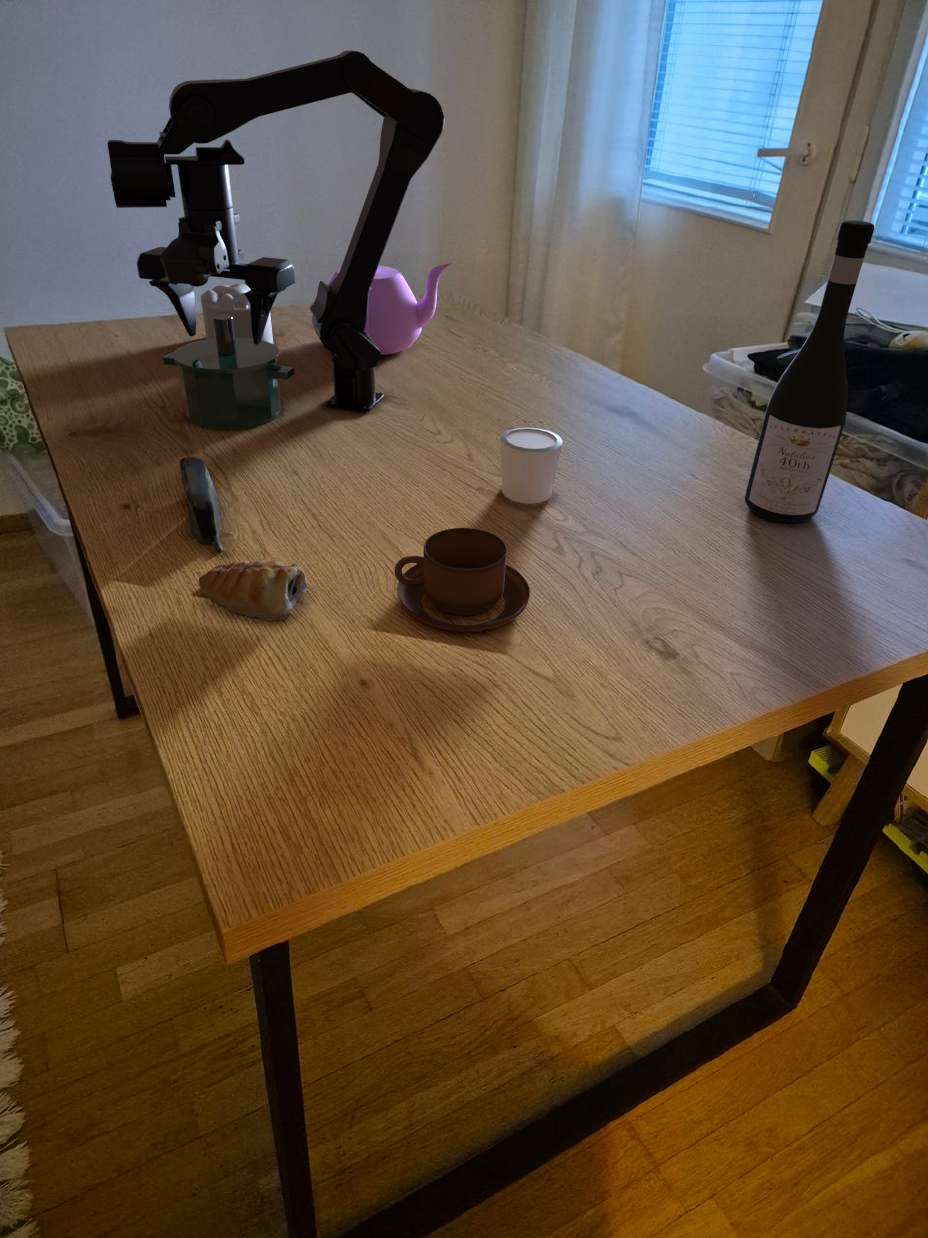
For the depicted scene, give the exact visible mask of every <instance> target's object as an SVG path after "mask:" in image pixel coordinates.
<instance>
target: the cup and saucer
mask: <svg viewBox="0 0 928 1238" xmlns="http://www.w3.org/2000/svg"><path fill="white" fill-rule="evenodd" d="M507 557H508V547H507V545H506V543H505V541H504V540H503V539H501V537H499V536H497V535H496V534H495V533H492V532H489V531H487V530H483V529H478V528H472V527H454V528H448V529H443V530H440V531H437V532H435V533H433V534H431V535H430V536H429V537H428V538H427V539H426V540H425V542H424V543H423V556H420V555H408V556H404V557H402V558H400V560H398V561H397V562H396V564H395V566H394V576H395V578H396V580H397V581H398V583H397V587H396V588H397V589H396V590H397V591H396V592H397V597H398V599H399V602H400V604H401V606H402V607H403V608H404V610H405V611H406V612H407V613H408V614H409V615H410V616H412V617H413V618H415V619H417V620H418V621H420V622H421V623H423V624H425V625H427V626H429V627H432V628H435V629H439V630H443V631H448V632H456V633H477V632H485V631H489V630H493V629H496V628H499V627H501V626H504V625H506V624H509V623H510V622H511V621H513V620H515V619H516V618H518V617H519V616H521V614H522V613H523V612H524V611H525V609H526V607H527V606H528V604H529V601H530V597H531V589H530V586H529V583H528V581H527V580H526V579H525V577H524V576H523V575H522V574H521V573H520V572H519V571H518V570H516V569H515V568H513V567H512V566H510V565H508V564H507ZM409 564H414V565H413V566H411V567H409V568H408V569H407V570H405V572H404V573H403V572H402V571H403V568H404V567H405V566H406V565H409ZM424 594H425V595H426V597H427V598H428V600H429V601H430V602H431V603H432V604H433V605H434V606H435V607H436V608H438V609H439V610H441V611H443V612H445V613H447V614H452V615H454V616H475V615H479V614H481V613H484V612H487V611H488V610H490V609H491V608H493V607H494V606H495V605H496V604H497V602H498V601H500V599H501V598H502V597H503V600H504V607H503V609H502V611H501V612H500V613H499V614H498V615H497V616H496V617H495V618H492V619H491V620H488V621H485V622H482V623H477V624H466V625H465V624H464V625H463V624H454V623H450V622H449V623H448V622H445V621H441V620H439V619H437V618H435V617H433V616H432V615H430V614H429V613H428V612H427V611H426V610H425V608H424V606H423V604H422V598H423V595H424Z"/></svg>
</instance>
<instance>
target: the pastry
mask: <svg viewBox="0 0 928 1238" xmlns="http://www.w3.org/2000/svg"><path fill="white" fill-rule="evenodd" d="M198 585H199V588H200V590H201V592H202V594H203V595H204V596H205V597H206V598H207V599H208V600H210V602H212V603H215V604H217V606H219V607H224V608H225V609H227V611H228V612H232V613H234V614H239V615H242V616H244V617H245V616H246V617H249V618H253V617H254V618H258V619H259V620H262V621H266V622H276V621H282V620H283V621H284V620H286V619H288V618H289V616H290V614H291V613H289V611H292V608H293V607H294V605H295V604H296V603H297V602H298V600H299V599H301V597H303V596H304V594H305V593H306V592H307V590H308V579H307V575H306V573H305V571H304V570H303V568H302V566H300V565H298V564H297V563H295V562H294V563H291V564H288V563H287V562H286V563H285V562H282V561H279V560H272V559H270V558H266V557H263V558H262V557H261V558H260V559H258V560H255V561H254V560H245V561H239V560H238V561H233V562H229V563H223V564H218V565H215V566H214V567H213V568H211V569H209V570H208V571H206V573H205V574H203V575H201V576H199V578H198Z"/></svg>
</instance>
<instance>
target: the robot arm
mask: <svg viewBox="0 0 928 1238" xmlns="http://www.w3.org/2000/svg"><path fill="white" fill-rule="evenodd" d="M347 94H353V95H354V96H356V97H357V98H358V99H359V100H360V101H362V102H363V103H364V104H366V105H367V106H368V107H369V108H370V109H372V110H373V111H374V112H376V113H377V114H378V115H380V116H381V117H383V120H382V124H381V125H382V126H381V129H380V139H379V154H378V162H377V166H376V169H375V172H374V175H373V178H372V180H371V183H370V186H369V188H368V192H367V194H366V197H365V200H364V203H363V205H362V207H361V211H360V214H359V217H358V219H357V222H356V224H355V228H354V230H353V233H352V235H351V239H350V242H349V244H348V246H347V250H346V253H345V255H344V258H343V262H342V263H341V267H340V268H341V269H340V268H339V269H340V272H339V274H338V275H337V277H336V278H335V279H334V280H333V282H332V283H331V284H330V285H328V283H326V282H324V281H323V280H320V281H319V283H318V286H317V292H316V297H315V300H314V301H313V303H312V304H311V305H310V306H309V311H310V312H311V314H312V318H311V325H312V328H313V329H314V332H315V334H316V336H317V337H318V339H319V341H320V343H321V345H322V346H323V347H324V348H325V349H326V350H327V351H328V352H330V353H331V354H332V355H333V356H332V376H333V393H334V394H333V395H332V396H331V397H330V398H329V399H328V400H327V401H325V406H326V407H328V408H335V409H342V410H349V411H357V412H364V413H368V412H371V411H372V410H373V409H374V408H375V407H376V406H377V405H378V404H379V403H380V402H381V401H382V400H383V399H384V398H385V394H384V393H383V392H376V368H377V367H378V364H379V361H380V357H381V352H380V351H379V349H378V348H377V346H376V345H375V344H374V342H373V341H372V340H371V338H370V337H369V336H368V334H367V333H366V332H365V326H366V321H367V315H368V300H369V290H370V286H371V284H372V281H373V279H374V276H375V273H376V271H377V268H378V265H380V263H381V261H382V257H383V255H384V252H385V249H386V246H387V243H388V241H389V239H390V236H391V234H392V231H393V228H394V225H395V222H396V220H397V218H398V215H399V213H400V209H401V207H402V204H403V202H404V198H405V196H406V193H407V190H408V188H409V185H410V183H411V181H412V179H413V177H414V176H415V175H416V174H417V172H419V170H420V168H421V167H422V166H423V164H424V163H425V162H426V161H427V160H428V158H429V157H430V155H431V153H432V151H433V150H434V148H435V146H436V145H437V143H438V141H439V139H440V137H441V135H442V134H443V132H444V127H445V123H446V122H445V115H444V110H443V108H442V105H441V104H440V102H439V100H438V99H437V98H436V97H435V96H433V95H432V94H431V93H430V92H426V91H423V90H419V89H414V88H410V87H407V86H406V85H405V84H403V83H402V82H400V81H399V80H398V79H397V78H395V77H394V76H392V75H391V74H389V73H388V72H386V71H385V70H383V69H382V68H381V67H379V66H378V65H377V64H375V63H374V62H372V61H371V59H370V58H369V57H368V56H367V55H366V54H365V53H364V52H361V51H358V50H353V49H352V50H344V51H342V52H340V53H339V54H337V55H334V56H329V57H327V58H323V59H319V60H315V61H314V60H313V61H310V62H307V63H306V62H305V63H303V64H299V65H298V64H297V65H295V66H291V67H287V68H283V69H278V70H275V71H270V72H268V73H267V72H266V73H263V74H258V75H256V76H251V77H247V78H233V79H232V78H231V79H230V78H229V79H228V78H227V79H225V78H220V79H194V80H193V79H192V80H191V79H190V80H184V81H182V82H179V84H177V85H176V86H175V87H174V88H173V89H172V91H171V94H170V96H169V101H168V110H169V115H170V116H169V119H168V121H167V123H166V124H165V126H164V128H163V130H162V131H159V137H158V139H157V141H125V140H121V139H108V140H107V143H106V145H107V150H108V151H107V152H108V158H109V164H110V165H109V166H110V175H109V176H110V182H111V183H110V184H111V187H112V193H113V198H114V203H115V207H116V208H117V209H132V208H133V209H137V208H139V209H141V208H142V209H143V208H145V209H146V208H168V204H167V201H171V198H176V189H175V182H174V176H173V175H174V174H173V169H172V166H176V167H177V173H178V180H179V186H180V187H179V188H180V194H181V202H182V210H183V216H182V217H181V216H180V217H178V224H177V226H178V236H177V237H176V238H174V239H172V240H171V242H169V244H168V245H167V246H158V247H154V248H152V249H149V250H146V251H143V252H140V254H139V256H138V258H137V260H136V268H137V274H138V278H139V279H140V280H141V279H142V280H149V281H148V283H149V285H150V286H151V287H155V288H157V289H158V290H160V291H161V292H163V293H164V294H165V295H166V297H167V298H168V299H169V301H170V303H171V305H172V306H173V308H174V310H175V312H176V313H177V315H178V317H179V319H180V321H181V322H182V325H183V327H184V329H185V331H186V333H187V334H188V336H189V337H195V336H196V334H197V314H196V313H197V312H196V299H195V287H196V288H198V287H199V288H200V287H202V286H204V285H206V284H208V282H209V278H210V277H213V278H223V279H230V280H239V281H240V280H241V281H244V285H247V286H248V287H249V288H250V289H251V290H249V291H247V292H245V293H244V294H245V296H246V298H247V300H248V301H249V303H250V312H251V326H252V336H253V341H254V344H256V345H257V344H259V343H260V342H261V339H262V336H263V333H264V329H265V326H266V323H267V320H268V317H269V314H270V315H271V311H272V308H273V305H274V303H275V301H276V299H277V296H278V294H280V293H281V292H284V291H285V290H287V288H288V287H290V286H292V285H294V284H296V272H295V268H294V266H293V264H292V263H291V261H290V260H289V259H285V258H278V257H277V258H275V257H267V256H266V257H265V256H261V257H260V258H258V259H255V260H254V261H251V262H249V263H245V262H240V261H242V260H243V259H244V258H245V256H244V250H243V249H238V240H237V232H236V225H238V224H240V223H241V219H240V213H234V204H233V195H232V186H231V178H230V177H231V175H230V168H229V166H243V165H244V164H246V160H245V158H244V156H243V155H242V154H241V153H240V152H238V151H237V150H236V148H234V146H233V145H232V142H231V141H230V140H229V139H225V140H224V141H223V143H222V144H221V146H196V147H195V155H185V156H184V155H183V156H181V154H182V153H183V152H185V151H186V150H187V149H189V147H191V146H192V145H194V144H198V145H203V144H209V143H212V142H214V141H216V140H218V139H220V138H222V137H225V136H226V135H228V134H230V133H232V132H234V131H236V130H238V129H239V128H242V127H243V126H244V125H246V124H248V123H249V122H251V121H253V120H255V119H257V118H259V117H260V118H261V117H263V116H266V115H270V114H274V113H278V112H282V111H286V110H289V109H290V110H291V109H294V108H297V107H301V106H306V105H309V104H312V103H317V102H321V101H324V100H329V99H332V98H336V97H339V96H345V95H347ZM166 155H167V156H166ZM169 155H174V156H169ZM175 155H179V156H175Z"/></svg>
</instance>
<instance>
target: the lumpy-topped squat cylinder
mask: <svg viewBox="0 0 928 1238" xmlns="http://www.w3.org/2000/svg"><path fill="white" fill-rule="evenodd" d="M249 290H251V289H250V288H249V287H248V286H247V285H246V284H245V283H244V284H242V283H241V284H239V283H238V284H232V285H229V284H224V285H223V284H220V285H216V286H214V287H213V288H211V289H208V290H206V291H205V292H203V293H202V294H201V295H200V304H201V311H202V316H203V318H202V319H203V325H204V331H205V339H212V338H215V330H214V322H213V317H214V316H216V315H230V316H232V318H233V327H234V335H235V337H240V338H252V339H253V336H252V326H251V312H250V303H249V301H248V300H247V298H246V296H245V294H244V293H245V292H247V291H249ZM273 338H274V337H273V327H272V317H271V313H270V314H269V317H268V320H267V323H266V326H265V329H264V333H263V336H262V339H261V340H263V341H266V342H269V343H272V344H274V339H273Z"/></svg>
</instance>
